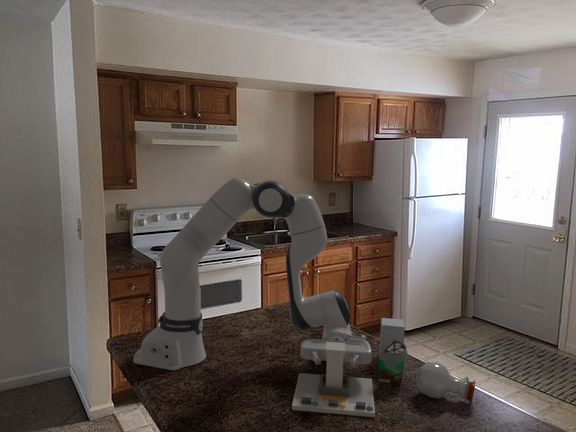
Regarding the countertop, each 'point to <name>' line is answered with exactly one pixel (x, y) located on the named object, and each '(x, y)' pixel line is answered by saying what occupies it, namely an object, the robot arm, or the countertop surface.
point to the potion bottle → (443, 382)
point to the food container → (392, 363)
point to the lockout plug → (334, 364)
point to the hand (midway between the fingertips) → (335, 363)
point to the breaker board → (334, 396)
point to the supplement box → (391, 332)
